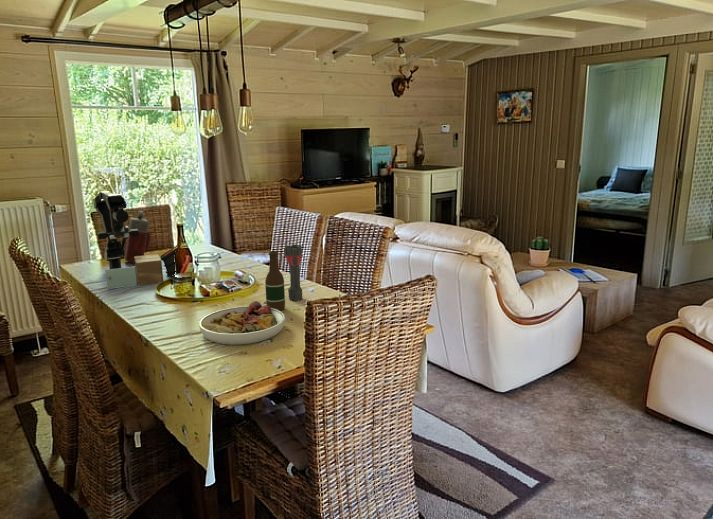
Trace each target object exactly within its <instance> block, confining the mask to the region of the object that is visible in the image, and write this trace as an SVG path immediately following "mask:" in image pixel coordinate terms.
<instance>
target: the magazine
mask: <svg viewBox="0 0 713 519" xmlns="http://www.w3.org/2000/svg"><path fill="white" fill-rule="evenodd" d="M176 247H177V245H175V246H174V247H172V248H171V249H169V250H167V251H166V252H165V253H163V254H161V255H159V257H160V259H161V262H163V267H165V270H166V271H165V274H166V276H167V277H169V278H171V277H173V276H172V275H174V274H175V272H176V271H175V262H174V255H175V251H176Z"/></svg>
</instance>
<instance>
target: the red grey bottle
mask: <svg viewBox="0 0 713 519" xmlns="http://www.w3.org/2000/svg"><path fill="white" fill-rule="evenodd" d="M143 217H144V211H143V210H138V212H137V217H132V216H131V217H130V218H129V223H128V230H129V231H130V229H138V230H139V234H140V236H132V235H129V236H128V237H129V238H128V239H126V242H125V249H124V260H125V262H131V263H135V260H134V257H135V256H144V255H145V253H146V252H145V251H146V250H148V251H149V250H150V243H151V232H150V230H149V225H150V222H149V221H148V219H145V218H143Z"/></svg>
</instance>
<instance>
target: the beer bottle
mask: <svg viewBox="0 0 713 519" xmlns="http://www.w3.org/2000/svg"><path fill="white" fill-rule="evenodd" d="M278 254H279V252H278V251H276V250H272V251H268V255H269V266H268V267H269V268H268V269H269V270H268V272H267V274H266V277H265V282H264V283H265V286H264V287H265V302H266V304H265V305H268V306H270V308H273V309H276V310H279V311H281V312H284V311H285V309H286V296H285V294H286V293H285V292H286V291H285V279H284V275H283V273H282V272H281V271H280V267H279V266H280V265H279V259H278Z"/></svg>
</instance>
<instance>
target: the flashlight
mask: <svg viewBox="0 0 713 519" xmlns="http://www.w3.org/2000/svg"><path fill="white" fill-rule="evenodd" d="M283 253H284V254H283V255H284V256H285V259H286V262H287V263H288V266H289V276H290V277H289V278H290V279H289V281H290V285H289V288H287V291H288V292H287V293H288V298H289V300H290V301H292V300H293V301H294V302H299V301H300V300H303V288H302V287H301V272H300V265H301V261H302V254H303V246H302V245H300V244H299V245H297V244H292V245H285V246H284V248H283Z"/></svg>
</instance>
